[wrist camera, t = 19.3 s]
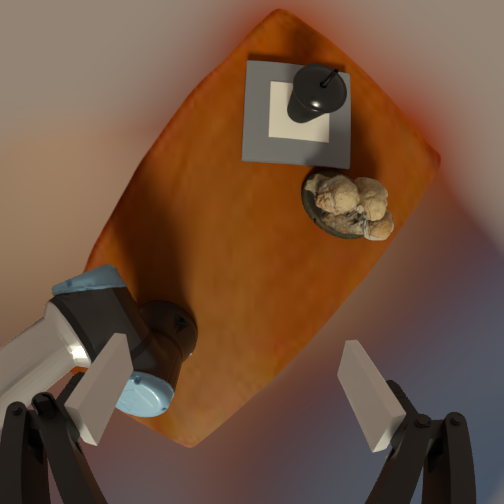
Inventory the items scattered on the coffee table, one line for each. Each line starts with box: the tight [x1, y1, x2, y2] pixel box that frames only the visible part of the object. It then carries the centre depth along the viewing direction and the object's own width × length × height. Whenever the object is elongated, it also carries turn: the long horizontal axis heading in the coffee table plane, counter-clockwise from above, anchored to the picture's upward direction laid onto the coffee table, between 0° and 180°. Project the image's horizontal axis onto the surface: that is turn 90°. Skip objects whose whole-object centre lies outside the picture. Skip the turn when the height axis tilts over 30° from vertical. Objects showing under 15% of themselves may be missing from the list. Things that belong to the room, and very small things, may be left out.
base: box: [242, 60, 351, 170], centre depth 45 cm, size 20×20×3 cm
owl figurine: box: [301, 171, 394, 240], centre depth 43 cm, size 18×12×17 cm, turn 63°
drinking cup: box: [287, 64, 347, 123], centre depth 34 cm, size 8×8×20 cm
